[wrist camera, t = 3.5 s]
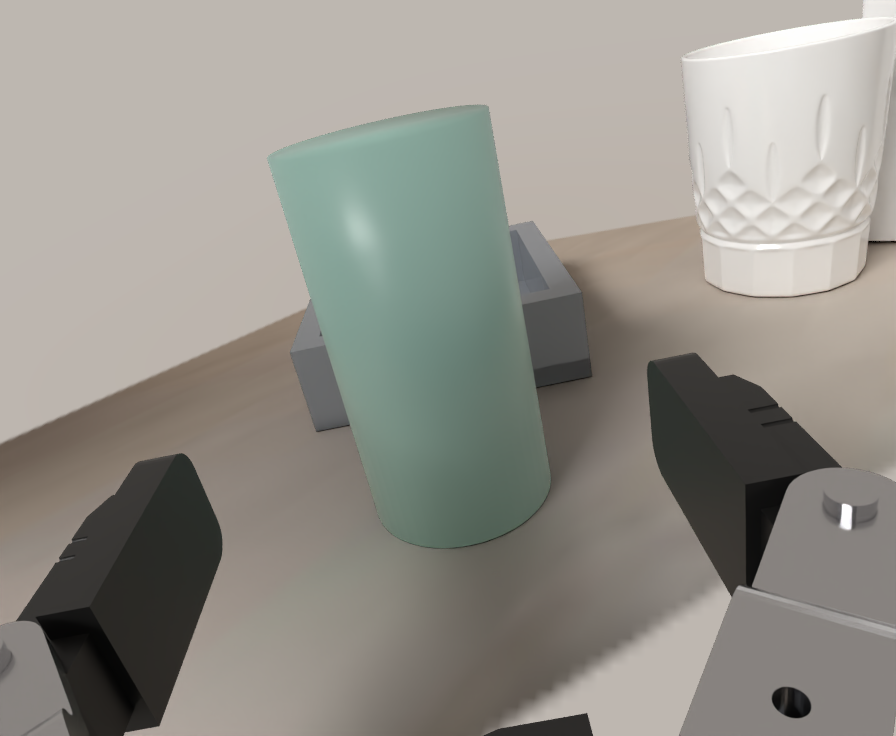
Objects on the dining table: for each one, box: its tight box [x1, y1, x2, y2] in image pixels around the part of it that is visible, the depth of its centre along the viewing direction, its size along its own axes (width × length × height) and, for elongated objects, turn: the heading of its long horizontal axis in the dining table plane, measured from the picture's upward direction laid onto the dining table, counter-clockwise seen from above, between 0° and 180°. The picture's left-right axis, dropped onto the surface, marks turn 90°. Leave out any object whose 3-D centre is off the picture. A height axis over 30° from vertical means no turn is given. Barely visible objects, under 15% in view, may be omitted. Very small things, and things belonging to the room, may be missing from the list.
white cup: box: [681, 17, 896, 297], centre depth 30 cm, size 8×8×10 cm
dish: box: [290, 221, 592, 431], centre depth 31 cm, size 11×11×4 cm
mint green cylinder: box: [267, 105, 551, 548], centre depth 19 cm, size 6×6×11 cm
